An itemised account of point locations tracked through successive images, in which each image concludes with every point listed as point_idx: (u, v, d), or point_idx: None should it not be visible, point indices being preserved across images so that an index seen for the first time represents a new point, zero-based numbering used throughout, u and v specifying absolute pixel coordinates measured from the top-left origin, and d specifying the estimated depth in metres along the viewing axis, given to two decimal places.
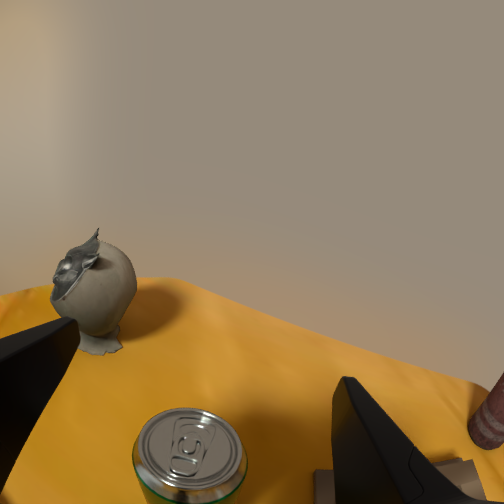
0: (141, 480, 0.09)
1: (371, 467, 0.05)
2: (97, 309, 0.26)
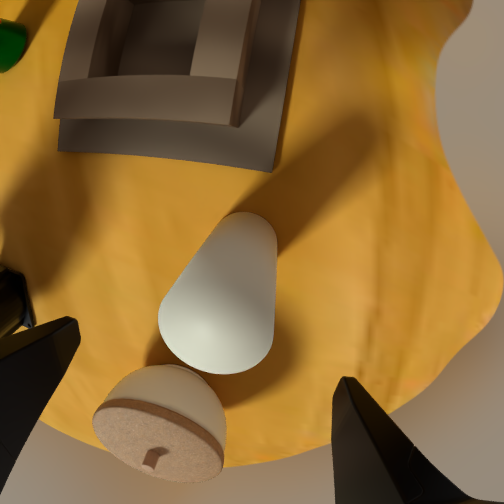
0: None
1: (371, 467, 0.05)
2: None
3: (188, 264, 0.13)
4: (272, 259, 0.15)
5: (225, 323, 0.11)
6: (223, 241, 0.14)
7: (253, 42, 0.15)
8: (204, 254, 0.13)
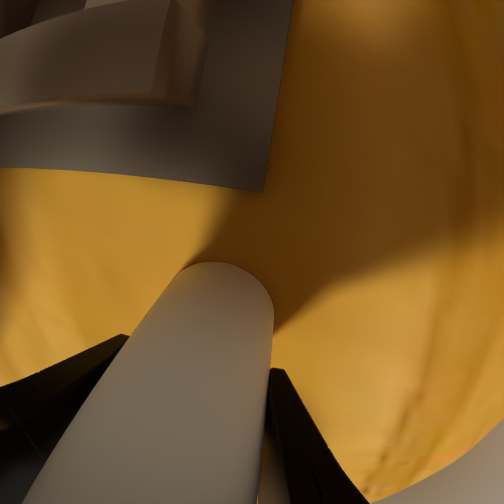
0: None
1: (276, 464, 0.05)
2: None
3: (68, 427, 0.04)
4: (257, 393, 0.07)
5: None
6: (138, 378, 0.05)
7: None
8: (88, 422, 0.04)
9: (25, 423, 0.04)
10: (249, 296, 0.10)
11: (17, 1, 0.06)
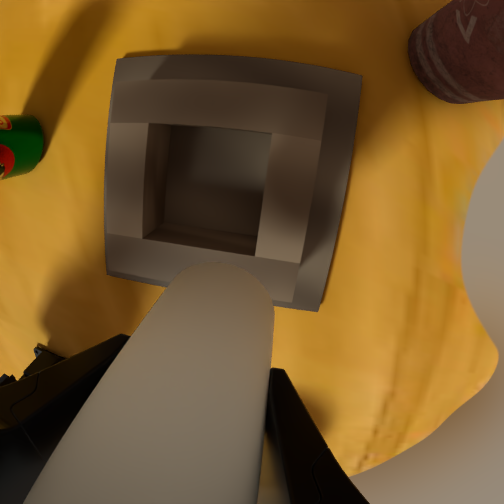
0: None
1: (276, 464, 0.05)
2: None
3: (69, 427, 0.04)
4: (257, 394, 0.07)
5: None
6: (139, 379, 0.05)
7: None
8: (89, 423, 0.04)
9: (26, 424, 0.04)
10: (249, 296, 0.10)
11: (158, 182, 0.17)
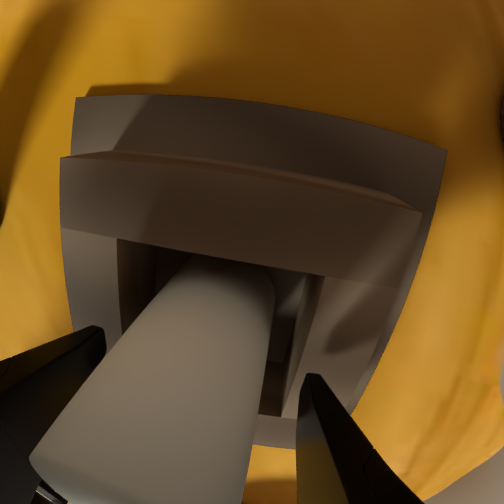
0: None
1: (325, 467, 0.05)
2: None
3: None
4: (255, 356, 0.08)
5: None
6: (153, 334, 0.07)
7: None
8: (107, 369, 0.06)
9: None
10: (251, 277, 0.11)
11: (144, 301, 0.12)
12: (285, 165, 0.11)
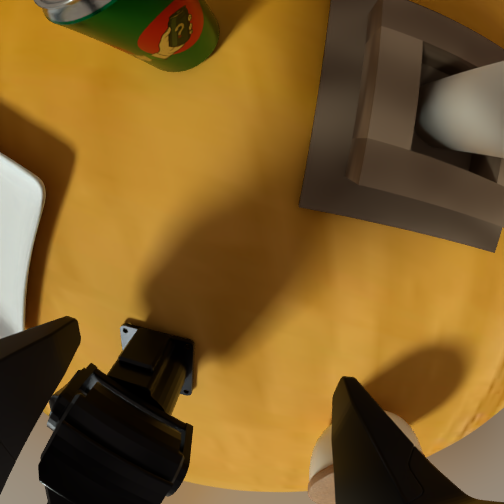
0: (47, 17, 0.06)
1: (371, 467, 0.05)
2: None
3: (482, 68, 0.08)
4: None
5: None
6: None
7: None
8: (493, 63, 0.08)
9: None
10: None
11: None
12: None
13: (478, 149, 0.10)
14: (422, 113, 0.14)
